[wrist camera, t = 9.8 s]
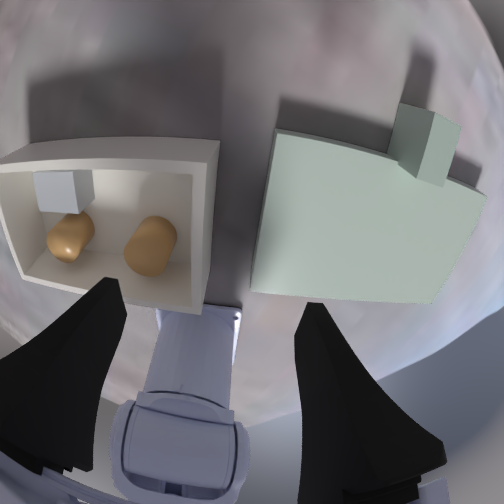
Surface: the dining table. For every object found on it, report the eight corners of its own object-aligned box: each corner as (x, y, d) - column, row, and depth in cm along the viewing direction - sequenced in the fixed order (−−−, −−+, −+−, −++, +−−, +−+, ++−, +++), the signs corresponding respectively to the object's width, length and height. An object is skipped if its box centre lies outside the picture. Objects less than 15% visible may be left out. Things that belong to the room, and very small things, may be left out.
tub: (210, 267, 21) (201, 315, 17) (50, 245, 20) (22, 279, 16) (220, 140, 16) (206, 163, 12) (30, 143, 15) (-12, 166, 11)
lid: (424, 291, 23) (441, 322, 20) (250, 276, 22) (248, 315, 18) (487, 148, 14) (521, 167, 11) (284, 70, 13) (294, 65, 10)
